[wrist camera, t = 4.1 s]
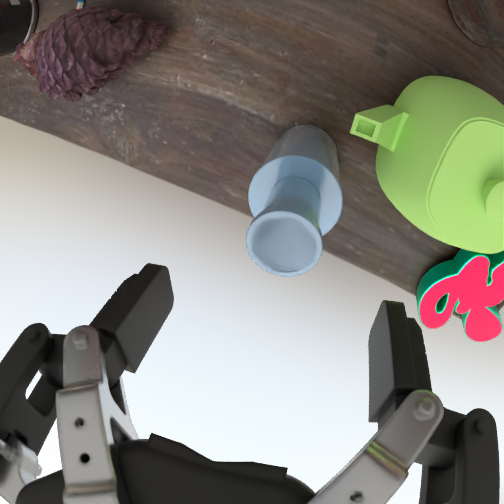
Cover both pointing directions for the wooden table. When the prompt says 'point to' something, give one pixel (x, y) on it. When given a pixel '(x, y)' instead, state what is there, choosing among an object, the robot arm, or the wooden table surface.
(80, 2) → the pencil
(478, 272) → the squiggly shape
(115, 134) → the wooden table surface
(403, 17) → the wooden table surface
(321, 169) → the bottle
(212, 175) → the wooden table surface
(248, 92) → the wooden table surface
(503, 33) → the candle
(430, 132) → the teapot
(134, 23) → the pine cone
